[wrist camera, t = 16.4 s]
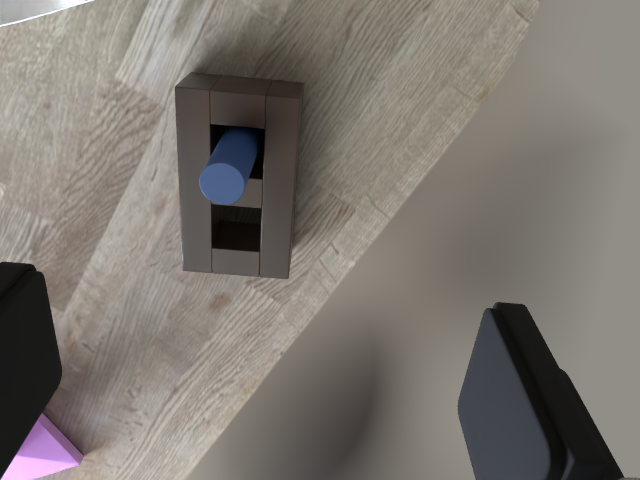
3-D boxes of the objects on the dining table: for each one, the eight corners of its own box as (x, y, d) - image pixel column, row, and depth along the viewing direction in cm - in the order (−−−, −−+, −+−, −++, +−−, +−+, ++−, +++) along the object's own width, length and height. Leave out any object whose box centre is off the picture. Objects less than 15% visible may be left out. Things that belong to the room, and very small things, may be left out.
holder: (304, 82, 43) (300, 98, 38) (292, 250, 50) (288, 279, 46) (190, 72, 42) (174, 86, 38) (195, 242, 50) (182, 270, 45)
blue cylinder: (264, 116, 44) (245, 164, 34) (262, 151, 45) (244, 206, 36) (227, 113, 44) (198, 160, 34) (227, 148, 45) (199, 202, 36)
